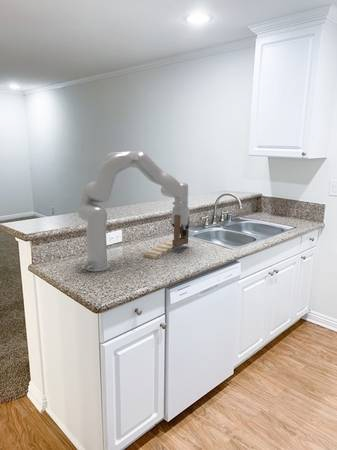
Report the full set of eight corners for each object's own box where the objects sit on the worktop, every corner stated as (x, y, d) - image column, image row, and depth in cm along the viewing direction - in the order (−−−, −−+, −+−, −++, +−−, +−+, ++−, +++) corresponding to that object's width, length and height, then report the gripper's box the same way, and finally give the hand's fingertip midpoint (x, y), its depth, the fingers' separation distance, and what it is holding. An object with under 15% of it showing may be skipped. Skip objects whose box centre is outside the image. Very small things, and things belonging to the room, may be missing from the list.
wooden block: (188, 243, 205) (189, 213, 201) (176, 247, 197) (177, 216, 194) (183, 242, 208) (184, 213, 204) (172, 245, 200) (172, 215, 196)
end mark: (179, 253, 196) (179, 252, 196) (170, 251, 198) (170, 251, 198) (189, 247, 208) (189, 246, 208) (181, 245, 210) (181, 245, 210)
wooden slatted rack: (156, 259, 185) (156, 256, 184) (143, 257, 188) (143, 253, 188) (180, 245, 211) (180, 242, 210) (168, 244, 214) (168, 240, 214)
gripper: (165, 204, 197) (164, 235, 202) (191, 207, 190) (191, 238, 194) (171, 202, 204) (170, 232, 208) (197, 205, 196) (196, 235, 201)
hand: (180, 235), depth 201 cm, fingers closed on wooden block, 4 cm apart
